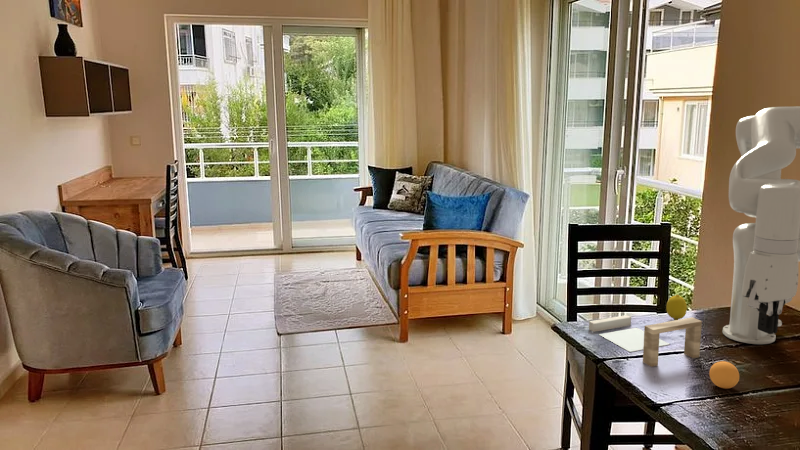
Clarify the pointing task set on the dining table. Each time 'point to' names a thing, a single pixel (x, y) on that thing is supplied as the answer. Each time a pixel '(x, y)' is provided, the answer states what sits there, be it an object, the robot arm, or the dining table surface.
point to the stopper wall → (609, 323)
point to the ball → (724, 374)
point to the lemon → (676, 307)
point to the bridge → (654, 331)
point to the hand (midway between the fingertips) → (767, 331)
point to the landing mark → (629, 339)
